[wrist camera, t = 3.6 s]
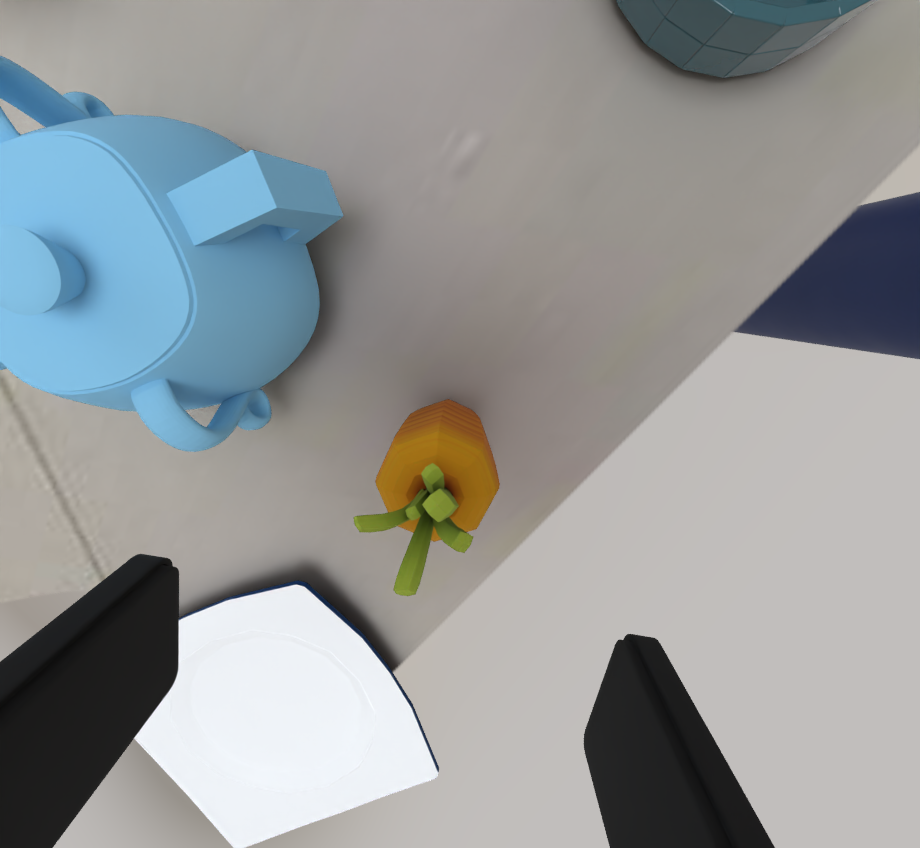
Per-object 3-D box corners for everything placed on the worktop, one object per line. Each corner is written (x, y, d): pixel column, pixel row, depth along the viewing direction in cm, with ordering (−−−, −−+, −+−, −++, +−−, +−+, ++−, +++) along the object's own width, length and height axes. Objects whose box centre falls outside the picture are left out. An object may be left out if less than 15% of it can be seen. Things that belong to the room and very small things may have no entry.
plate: (249, 823, 38) (233, 861, 35) (93, 650, 33) (61, 679, 31) (458, 745, 35) (457, 781, 32) (319, 541, 30) (305, 564, 27)
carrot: (447, 467, 28) (422, 649, 14) (393, 411, 27) (305, 544, 13) (506, 418, 27) (545, 558, 13) (452, 358, 26) (429, 437, 12)
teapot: (292, 43, 22) (99, -225, 11) (424, 353, 26) (389, 400, 15) (-23, 211, 24) (-447, 142, 13) (145, 469, 29) (-68, 583, 17)
